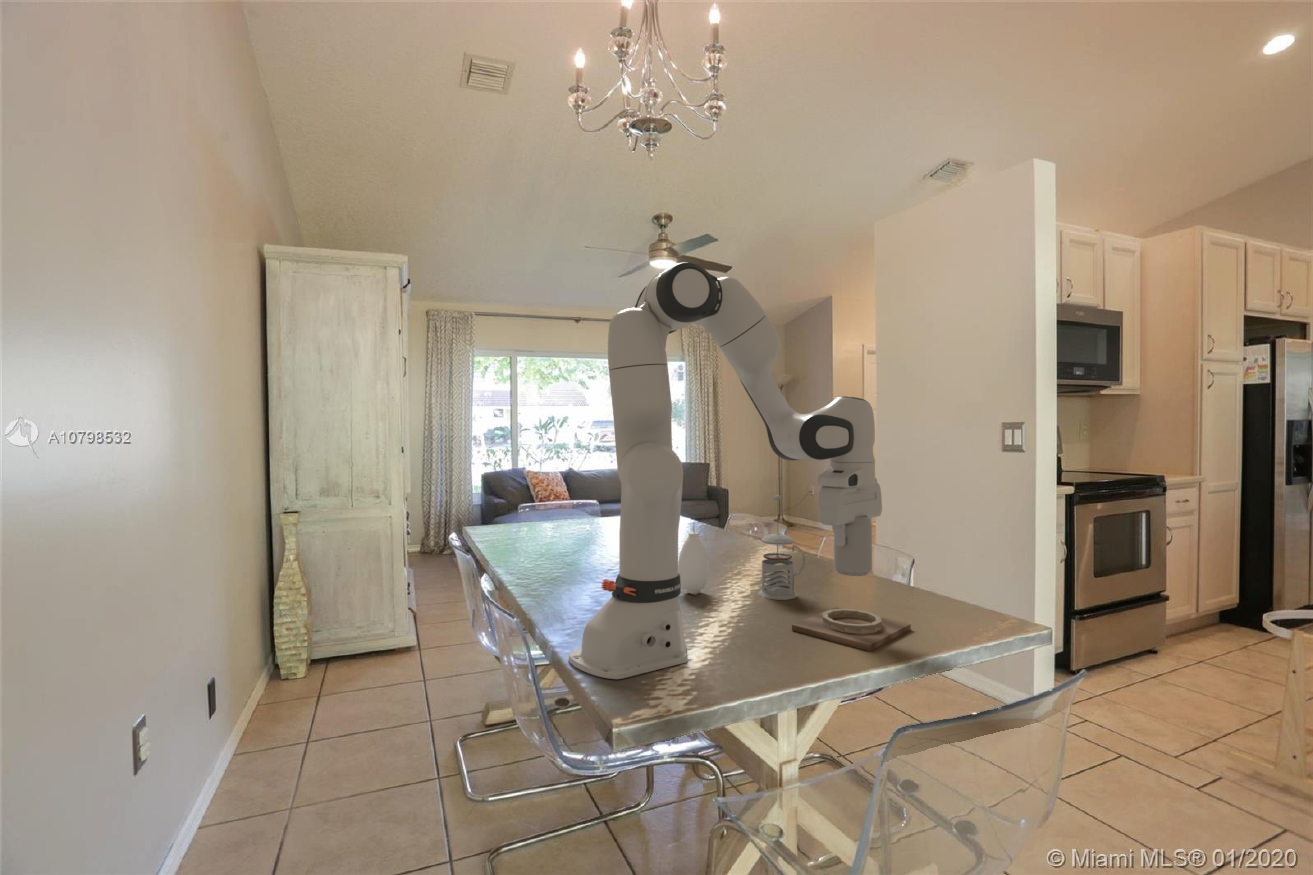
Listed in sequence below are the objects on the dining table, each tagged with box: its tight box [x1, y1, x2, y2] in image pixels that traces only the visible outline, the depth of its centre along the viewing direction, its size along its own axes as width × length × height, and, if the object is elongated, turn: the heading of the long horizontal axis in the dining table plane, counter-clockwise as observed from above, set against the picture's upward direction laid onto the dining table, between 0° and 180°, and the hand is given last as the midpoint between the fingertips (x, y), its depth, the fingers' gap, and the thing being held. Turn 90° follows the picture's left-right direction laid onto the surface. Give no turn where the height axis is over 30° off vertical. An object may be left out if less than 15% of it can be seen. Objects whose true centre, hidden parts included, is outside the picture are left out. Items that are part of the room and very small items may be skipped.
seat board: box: [791, 606, 912, 652], centre depth 129 cm, size 18×17×3 cm
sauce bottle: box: [678, 522, 710, 595], centre depth 157 cm, size 8×8×18 cm
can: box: [833, 515, 873, 577], centre depth 128 cm, size 8×8×12 cm
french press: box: [757, 494, 806, 601], centre depth 156 cm, size 10×12×25 cm
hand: (852, 542), depth 128 cm, fingers closed on can, 7 cm apart
